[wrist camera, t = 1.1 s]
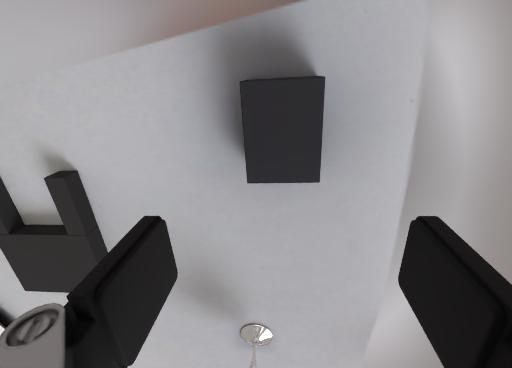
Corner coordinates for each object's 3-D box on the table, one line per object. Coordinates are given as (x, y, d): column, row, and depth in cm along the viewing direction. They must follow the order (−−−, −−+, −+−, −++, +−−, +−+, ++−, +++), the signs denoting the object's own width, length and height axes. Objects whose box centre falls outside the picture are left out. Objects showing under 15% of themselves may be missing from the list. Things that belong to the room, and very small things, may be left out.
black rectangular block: (246, 80, 21) (239, 81, 18) (317, 75, 21) (325, 76, 17) (252, 167, 25) (247, 183, 21) (314, 166, 24) (319, 182, 20)
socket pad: (-20, 172, 28) (-41, 179, 26) (77, 170, 27) (62, 177, 25) (38, 279, 35) (25, 291, 33) (118, 282, 33) (109, 294, 31)
